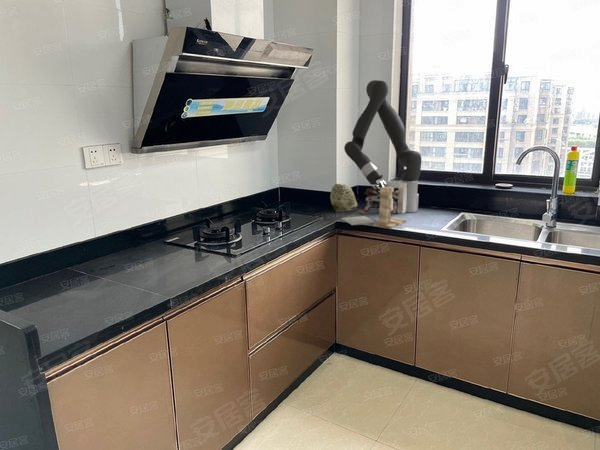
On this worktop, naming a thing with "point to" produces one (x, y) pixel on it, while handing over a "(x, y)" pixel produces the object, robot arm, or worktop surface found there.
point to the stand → (387, 210)
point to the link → (399, 195)
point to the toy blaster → (374, 197)
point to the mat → (358, 220)
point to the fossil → (342, 198)
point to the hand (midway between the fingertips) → (391, 199)
